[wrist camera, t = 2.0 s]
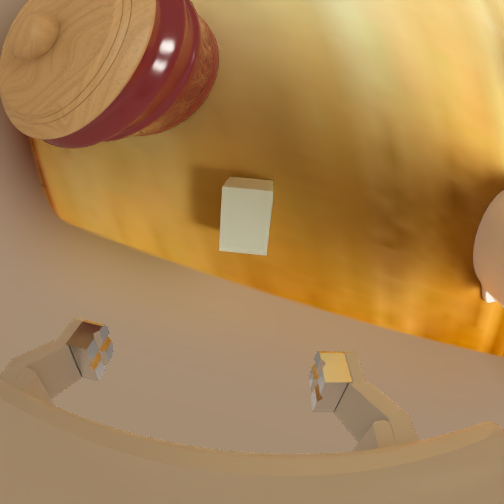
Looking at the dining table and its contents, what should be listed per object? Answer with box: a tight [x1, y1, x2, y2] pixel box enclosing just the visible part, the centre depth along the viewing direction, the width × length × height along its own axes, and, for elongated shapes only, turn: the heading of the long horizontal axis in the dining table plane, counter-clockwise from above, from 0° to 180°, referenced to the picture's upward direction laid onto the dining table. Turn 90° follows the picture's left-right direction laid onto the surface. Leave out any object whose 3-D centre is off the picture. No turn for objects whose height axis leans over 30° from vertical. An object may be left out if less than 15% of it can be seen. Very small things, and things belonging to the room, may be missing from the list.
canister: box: [0, 0, 219, 148], centre depth 14 cm, size 13×13×18 cm
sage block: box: [219, 177, 274, 256], centre depth 25 cm, size 4×6×4 cm
